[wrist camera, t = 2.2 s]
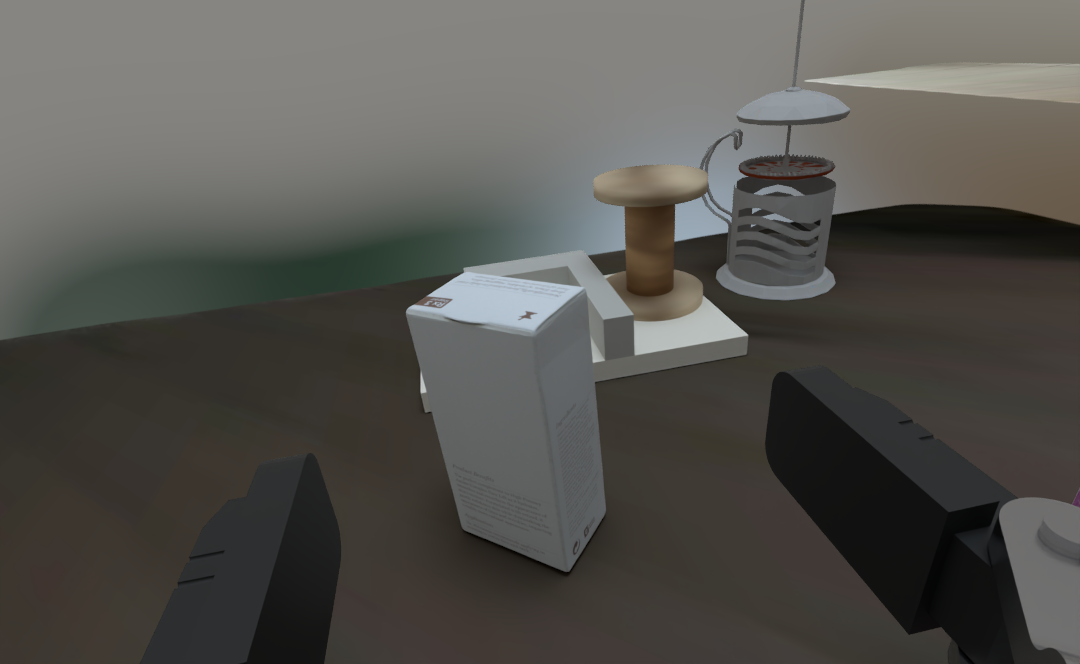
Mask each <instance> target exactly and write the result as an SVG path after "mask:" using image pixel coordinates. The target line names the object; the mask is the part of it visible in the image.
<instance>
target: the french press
mask: <svg viewBox="0 0 1080 664" xmlns="http://www.w3.org/2000/svg"><path fill="white" fill-rule="evenodd" d="M804 1H805V0H801V9H800V19H799V28H798V37H797V47H796V56H795V66H794V75H793V85H792V87H789V88H787V89H786V90H784V91H779V92H775V93H771V94H768V95H765V96H763V97H761V98H759V99H757V100H755V101H753V102H751V103H749V104H748V105H746V106H745V107H744V108H742V109H741V110H740V111H738V112H737V118H738V120H739V121H740V122H743V123H748V124H757V125H780V126H781V125H788V133H787V143H786V152H785V155H784V156H783V157H782V156H781V155H779V157H778V156H777V155H776V156H777V157H776V156H775V157H774V156H771V157H770V156H767V157H766V156H764V157H762V156H761V157H759V159H758V157H757V158H755V160H754V159H752V160H751V159H749V160H747V161H744V162H742V163H740V165H739V170H740V172H741V173H743V174H744V175H746V176H749V177H745V178H742V179H740V180H739V181H737V188H735V187H734V194H733V195H734V196H733V209H732V213H730V212H729V211H727V210H725V209H724V208H722V207H721V206H720V205H719V204H718V203H717V202H716V201H715V200H714V199H713V196H712V194H711V192H710V189H709V185H708V186H707V192H708V195H709V197H710V200H711V201H712V202H713V203H714V204H715V205H716V206H717V208H718V209H720V210H722V211H723V212H725V213H727V214H729V215H730V216H731V217H732V223H731V222H730V221H729V220H728V219H726V218H724V217H723V216H721V215H719V214H718V213H716V212H715V211H714V210H713V209H712V208H711V207H710V205H709V204H708V202H707V200H706V198H705V196H704V195H703V196H702V198H703V200H704V202H705V205H706V206H707V207H708V208H709V209H710V211H711V212H712V213H713V214H715V215H716V216H718V217H720V218H721V219H723V220H724V221H726V222H727V223H728V226H729V228H728V246H727V263H726V264H724V265H723V266H722V267H721V268H720V269H718V270H717V275H716V279H717V280H718V281H719V283H720V284H721V285H722V286H723V287H725V288H727V289H729V290H731V291H734V292H736V293H738V294H741V295H746V296H751V297H755V298H760V299H773V300H794V299H803V298H811V297H814V296H817V295H820V294H823V293H826V292H828V291H829V290H830V289H831V288H832V287H833V286H834V285H835V284H836V283H835V279H834V275H833V274H832V273H831V272H830V271H829V270H828V269H827V268H826V267H825V266H824V265H825V258H826V251H827V244H828V237H829V231H830V224H831V217H832V210H833V203H834V197H835V189H836V183H835V182H834V181H832V180H831V179H829V178H826V177H823V175H827V174H828V173H830V172H831V171H833V169H834V168H835V165H834V163H833V161H829V160H826V159H825V158H820V157H818V158H817V157H816V156H815V158H813V156H812V157H810V156H808V157H806V155H805V156H804V157H802V155H801V156H800V157H797V156H798V155H796V157H795V156H794V155H792V156H790V155H788V152H789V142H790V132H791V125H805V124H806V125H807V124H823V123H829V122H834V121H839V120H841V119H843V118H845V117H847V115H848V114H849V113H850V109H849V108H848V107H847V106H846V105H844V104H843V103H842V102H841V101H840V100H838V99H837V98H835V97H832V96H830V95H827V94H824V93H821V92H814V91H809V90H802V88H800V87H795V86H796V75H797V67H798V57H799V48H800V38H801V29H802V28H801V27H802V20H803V10H804V9H803V8H804ZM735 132H738V133H739V142H738V136H737V135H736V134H735ZM730 135H731V136H733V137H734V148H735V149H736V150H738V148H739V147H740V146H741V145H742V136H743V133H742V131H741V130H739V129H734V130H732V131H730V132H728V133H727V134H725V135H723V136H722V137H721V138H719V139H717V140H716V141H715V142H714V143H713V144H712V145H711V146H710V147H709V148H708V150H707V152H706V154H705V156H704V158H703V160H702V162H701V166H700V169H701V170H703V166H704V163H705V160H706V158H707V160H706V163H705V172H707V174H708V164H709V161H710V158H711V155H712V153H713V151H714V150H715V148H716V146H717V145H718V144H719V143H720V142H721V141H722V140H723V139H725V138H727V137H728V136H730ZM737 142H738V145H737ZM707 156H708V157H707ZM780 156H781V157H780ZM768 157H769V158H768ZM777 184H779V185H784V186H789V187H792V188H794V189H796V190H797V191H799V192H801V193H802V194H804V195H805V196H793V195H791V194H786V193H781V192H774V193H770V194H766V195H756V194H754V193H755V192H757V191H759V190H760V189H762V188H765V187H769V186H773V185H777ZM752 208H761V210H759V211H757V212H755V213H753V214H752ZM774 213H776V214H779V215H781V216H783V217H785V218H788V219H790V220H792V221H795V222H799V223H800V224H802V225H803V226H805V227H806V228H808V229H810V230H811V232H807V231H800V230H799V229H797V228H796V227H794V226H793V225H791V224H789V223H788V222H783V221H778V220H769V219H766V218H763V217H762V216H766V215H770V214H774ZM819 219H820V220H821V224H820V226H817V225H815V224H814V223H813V222H815V221H817V220H819ZM751 224H757V225H755V226H753V227H751ZM767 228H769V229H772V230H775V231H777V232H780V233H782V234H784V235H787V236H789V237H791V238H794V239H802V240H803V241H805V242H806V243H808V244H810V245H811V246H809V247H803V246H801V245H799V244H798V243H796V242H795V241H793V240H792V239H790V238H789V237H787V236H784V235H779V234H775V233H771V234H767V235H765V234H762V233H759V232H757V231H759V230H763V229H767ZM818 235H819V238H818V240H815V239H814V237H816V236H818ZM750 240H751V241H750ZM816 250H817V252H816V254H814V253H812V252H814V251H816Z"/></svg>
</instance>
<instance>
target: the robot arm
mask: <svg viewBox="0 0 1080 664" xmlns="http://www.w3.org/2000/svg"><path fill="white" fill-rule="evenodd" d="M765 447H766V454H767V458H768V462H769V464H770V467H771V469H772V471H773V472H774V474H775V475H776V477H777V478H778V479H779V481H780V482H781V483H782V484H783V485H784V486H785V488H786V489H787V490H788V491H789V492H790V494H791V495H792V496H793V497H794V498H795V500H796V501H797V502H798V503H799V504H800V506H801V507H802V508H803V509H804V510H805V511H806V513H807V514H808V515H809V516H810V517H811V519H812V520H813V521H814V522H815V523H816V525H817V526H818V527H819V528H820V529H821V531H822V532H823V533H824V534H825V535H826V537H827V538H828V539H829V540H830V541H831V542H832V544H833V545H834V546H835V547H836V548H837V550H838V551H839V552H840V553H841V554H842V556H843V557H844V558H845V559H846V560H847V562H848V563H849V564H850V565H851V566H852V567H853V569H854V570H855V571H856V572H857V573H858V575H859V576H860V577H861V578H862V579H863V581H864V582H865V583H866V584H867V585H868V587H869V588H870V589H871V590H872V591H873V593H874V594H875V595H876V596H877V597H878V598H879V600H880V601H881V602H882V603H883V604H884V606H885V607H886V608H887V609H888V610H889V612H890V613H891V614H892V615H893V616H894V618H895V619H896V620H897V621H898V622H899V623H900V625H901V626H902V627H903V628H904V629H905V631H906V632H907V633H908V634H909V635H910V634H914V633H918V632H922V631H926V630H930V629H934V628H938V627H942V628H943V629H944V630H945V632H946V633H947V634H948V635H949V636H950V637H951V638H952V639H951V642H950V645H949V648H948V664H1080V507H1077V506H1074V505H1071V504H1068V503H1065V502H1061V501H1057V500H1051V499H1045V498H1034V497H1032V498H1020V499H1019V498H1017V497H1016V496H1015V495H1013V494H1012V493H1011V492H1009V491H1008V490H1007V489H1005V488H1004V487H1003V486H1001V485H1000V484H999V483H997V482H996V481H994V480H993V479H992V478H990V477H989V476H988V475H986V474H985V473H984V472H982V471H981V470H980V469H978V468H977V467H976V466H974V465H973V464H972V463H970V462H969V461H968V460H966V459H965V458H964V457H962V456H961V455H960V454H958V453H957V452H955V451H954V450H953V449H951V448H950V447H949V446H947V445H946V444H945V443H943V442H942V441H941V440H939V439H936V440H935V439H934V437H933V434H931V433H930V432H929V431H927V430H926V429H925V428H923V427H922V426H921V425H919V424H918V423H916V424H914V423H913V421H912V419H911V418H910V417H908V416H907V415H906V414H904V413H903V412H902V411H900V410H899V409H898V408H896V407H895V406H894V405H892V404H891V403H890V402H888V401H886V400H884V399H882V398H879V397H877V396H875V395H872V394H870V393H868V392H866V391H863V390H861V389H859V388H856V387H855V388H853V387H851V386H850V385H849V384H848V383H846V382H845V381H844V380H842V379H841V378H840V377H839V376H837V375H836V374H835V373H833V372H832V371H831V370H829V369H828V368H826V367H824V366H821V365H818V366H812V367H807V368H801V369H795V370H790V371H784V372H779V373H778V374H777V375H776V376H775V378H774V380H773V384H772V391H771V399H770V407H769V416H768V424H767V432H766V441H765ZM189 558H190V562H189V563H186V565H185V567H184V570H183V572H182V574H181V576H180V578H179V580H178V588H177V589H174V591H173V593H172V595H171V598H170V600H169V602H168V604H167V606H166V608H165V610H164V613H163V615H162V617H161V619H160V621H159V623H158V626H157V628H156V630H155V632H154V634H153V636H152V638H151V641H150V643H149V645H148V647H147V649H146V651H145V653H144V656H143V658H142V660H141V662H140V664H324V660H325V654H326V648H327V642H328V636H329V629H330V623H331V617H332V611H333V605H334V599H335V592H336V586H337V580H338V574H339V568H340V561H341V540H340V532H339V527H338V523H337V519H336V516H335V513H334V510H333V507H332V504H331V501H330V498H329V495H328V492H327V489H326V485H325V482H324V479H323V476H322V473H321V470H320V467H319V464H318V461H317V459H316V457H315V456H314V455H313V454H312V453H308V454H303V455H297V456H291V457H286V458H280V459H274V460H268V461H263V462H261V463H260V465H259V466H258V468H257V471H256V473H255V476H254V478H253V481H252V483H251V486H250V488H249V491H248V494H247V496H246V497H243V498H238V499H232V500H228V502H227V503H226V504H225V505H224V506H223V507H222V508H221V509H220V510H219V511H218V512H217V513H216V514H215V515H214V516H213V517H212V519H211V520H210V521H209V522H208V523H207V524H206V525H205V526H204V527H203V529H202V531H201V533H200V535H199V537H198V539H197V542H196V544H195V546H194V548H193V550H192V552H191V555H190V557H189Z"/></svg>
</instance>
